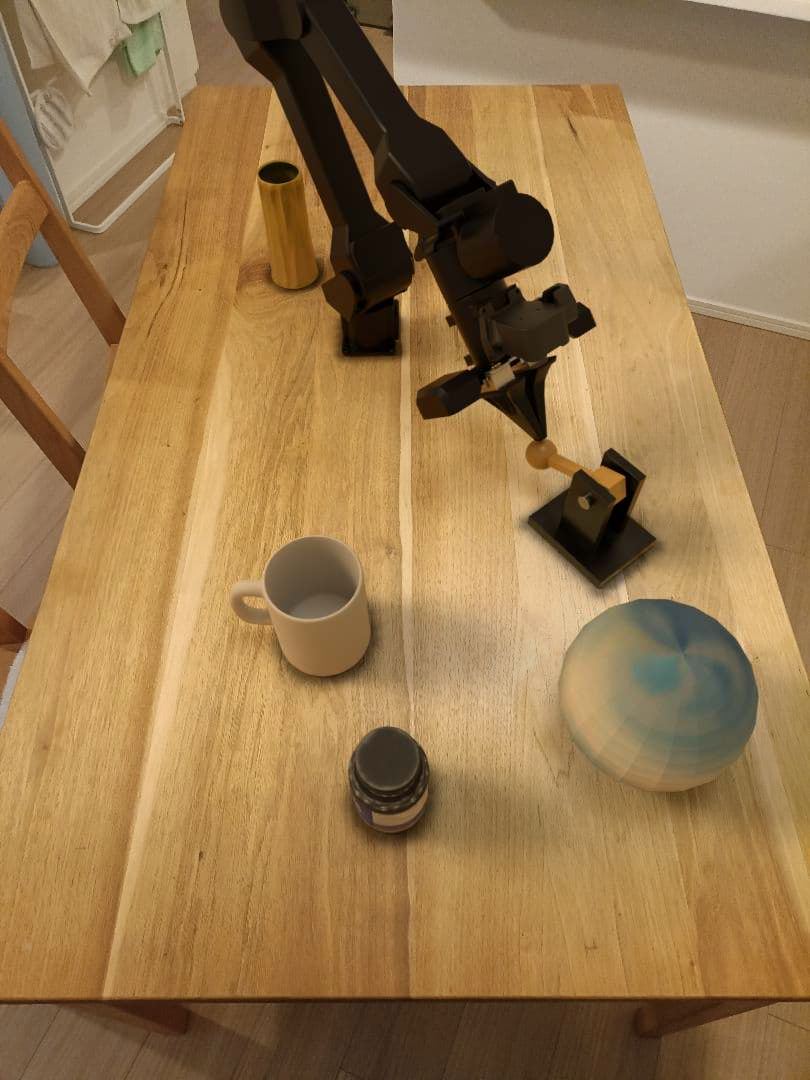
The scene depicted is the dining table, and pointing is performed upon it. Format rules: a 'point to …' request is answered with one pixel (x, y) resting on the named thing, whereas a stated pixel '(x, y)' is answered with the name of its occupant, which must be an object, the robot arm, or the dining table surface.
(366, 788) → the pill bottle
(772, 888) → the dining table surface
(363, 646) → the mug
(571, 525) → the lever base
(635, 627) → the decorative ball
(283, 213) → the vase
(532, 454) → the ball knob lever
